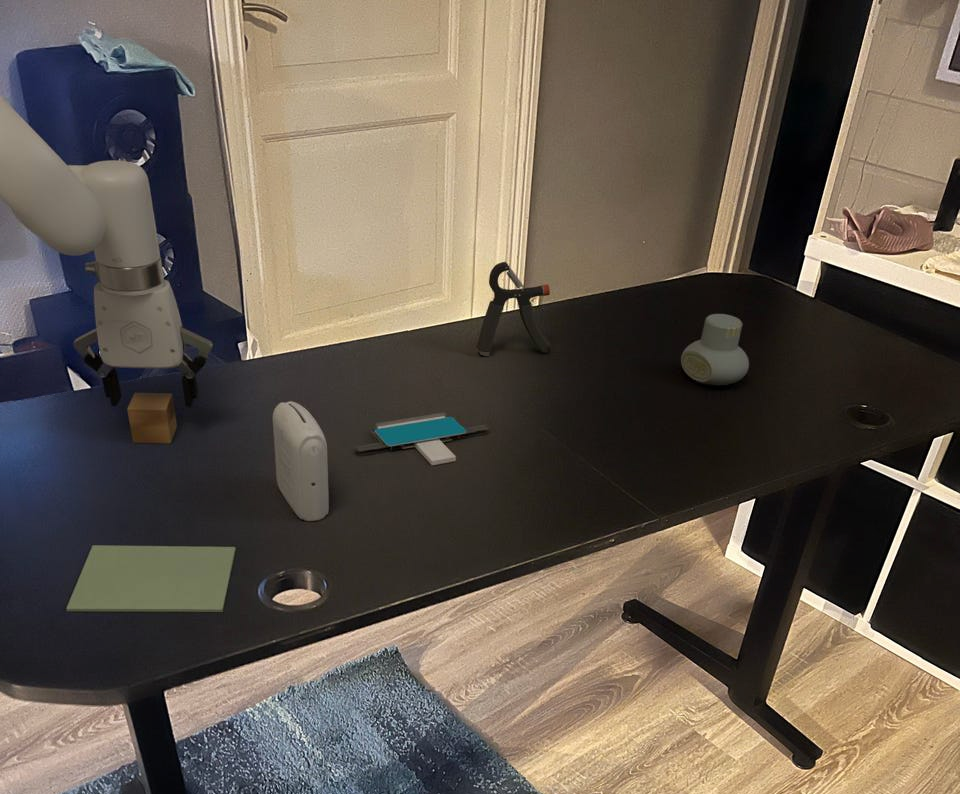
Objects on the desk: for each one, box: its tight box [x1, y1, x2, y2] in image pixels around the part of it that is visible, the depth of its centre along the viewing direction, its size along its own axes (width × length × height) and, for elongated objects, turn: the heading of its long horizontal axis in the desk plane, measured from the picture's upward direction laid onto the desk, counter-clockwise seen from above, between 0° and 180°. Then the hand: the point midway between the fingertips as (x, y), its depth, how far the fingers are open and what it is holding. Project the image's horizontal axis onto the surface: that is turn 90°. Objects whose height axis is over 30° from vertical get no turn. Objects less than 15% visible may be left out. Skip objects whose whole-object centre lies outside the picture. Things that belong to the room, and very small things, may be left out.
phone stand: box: [354, 411, 490, 466], centre depth 135 cm, size 20×12×2 cm, turn 117°
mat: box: [65, 544, 237, 613], centre depth 107 cm, size 16×12×1 cm
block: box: [126, 392, 178, 445], centre depth 131 cm, size 5×5×5 cm
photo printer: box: [272, 400, 330, 522], centre depth 118 cm, size 10×4×12 cm, turn 28°
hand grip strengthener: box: [476, 261, 552, 353], centre depth 158 cm, size 2×13×15 cm, turn 103°
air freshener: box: [680, 313, 750, 386], centre depth 157 cm, size 11×8×10 cm
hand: (153, 402), depth 130 cm, fingers open, 9 cm apart
